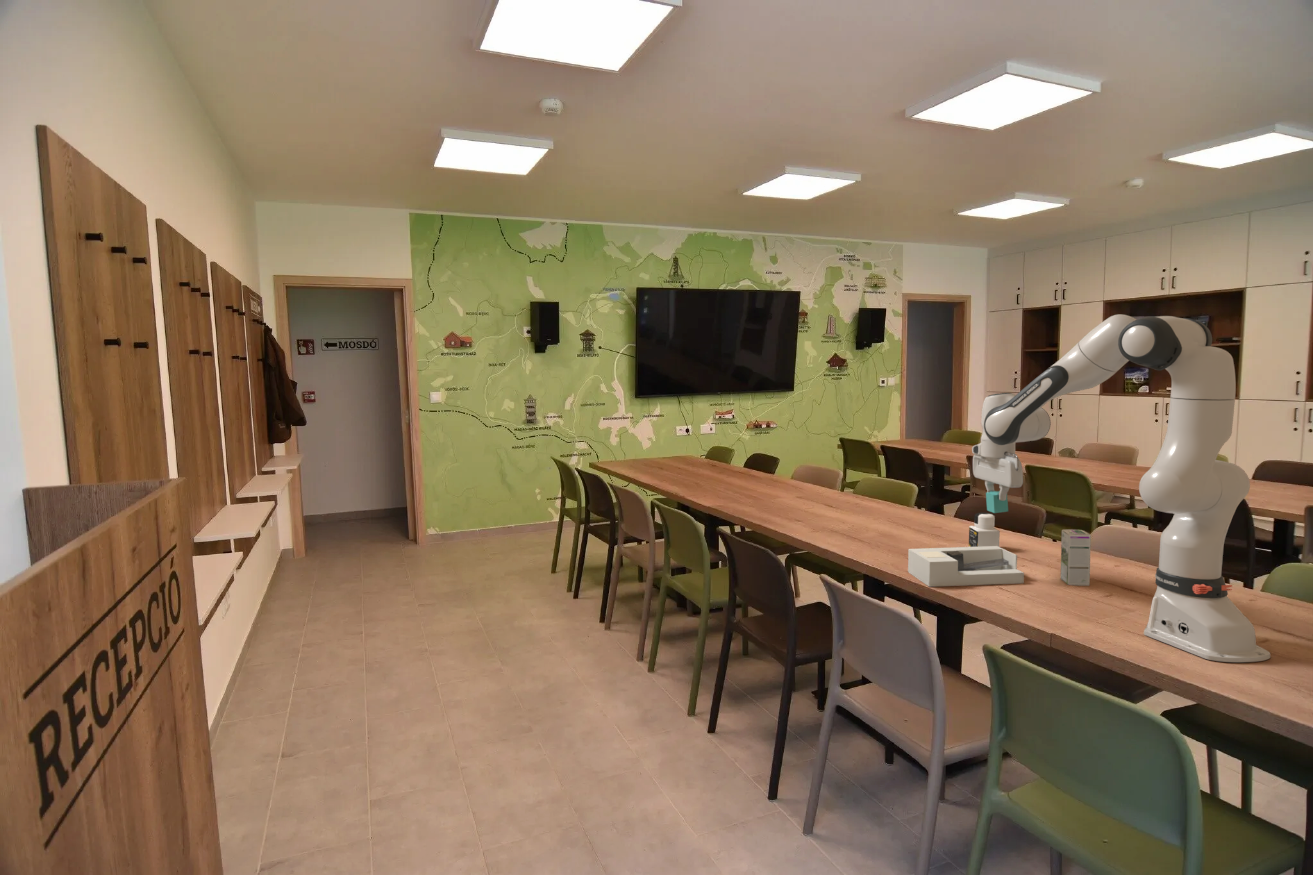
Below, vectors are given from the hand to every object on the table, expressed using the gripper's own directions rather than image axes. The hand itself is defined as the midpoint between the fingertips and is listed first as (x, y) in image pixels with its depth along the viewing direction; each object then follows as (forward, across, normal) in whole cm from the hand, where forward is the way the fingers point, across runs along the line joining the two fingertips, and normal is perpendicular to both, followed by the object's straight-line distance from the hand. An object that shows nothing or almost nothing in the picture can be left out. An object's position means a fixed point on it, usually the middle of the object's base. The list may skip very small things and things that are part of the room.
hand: (996, 498), depth 198 cm
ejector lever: (+20, 0, +5) cm, 20 cm away
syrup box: (+23, -8, -18) cm, 31 cm away
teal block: (+4, 0, 0) cm, 4 cm away
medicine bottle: (+23, +29, -12) cm, 39 cm away
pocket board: (+23, 0, +9) cm, 25 cm away
